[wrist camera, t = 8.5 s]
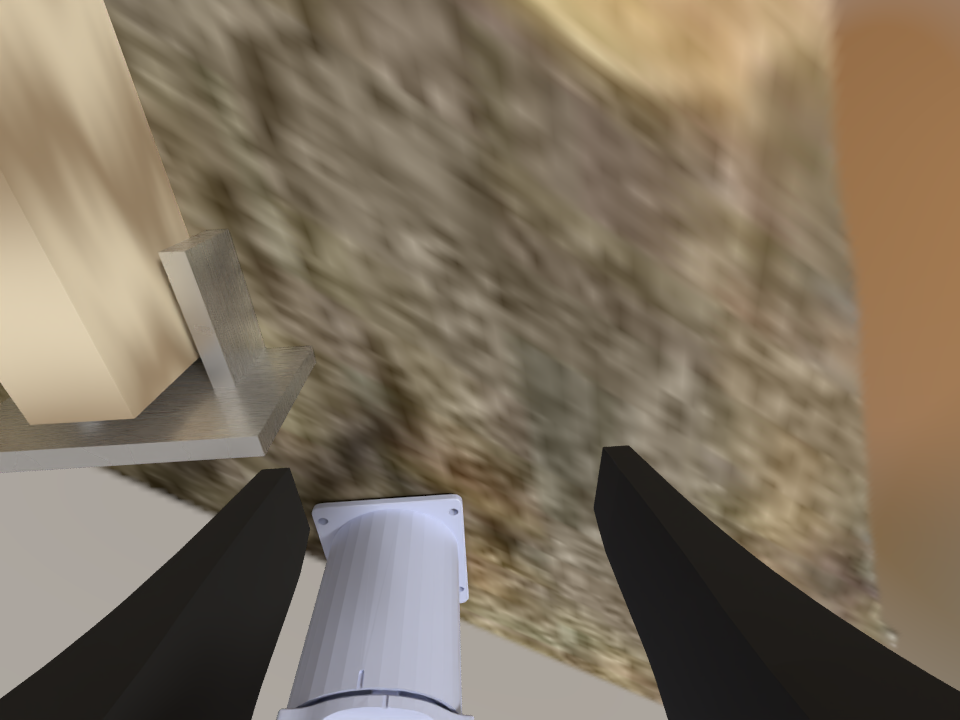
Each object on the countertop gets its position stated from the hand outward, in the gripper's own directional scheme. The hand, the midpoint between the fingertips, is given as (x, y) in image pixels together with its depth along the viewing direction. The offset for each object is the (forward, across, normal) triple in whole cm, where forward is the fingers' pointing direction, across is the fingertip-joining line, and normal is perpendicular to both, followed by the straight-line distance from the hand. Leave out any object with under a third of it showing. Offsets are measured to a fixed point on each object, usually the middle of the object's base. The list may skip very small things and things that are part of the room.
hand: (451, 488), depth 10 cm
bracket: (+9, +11, -2) cm, 15 cm away
